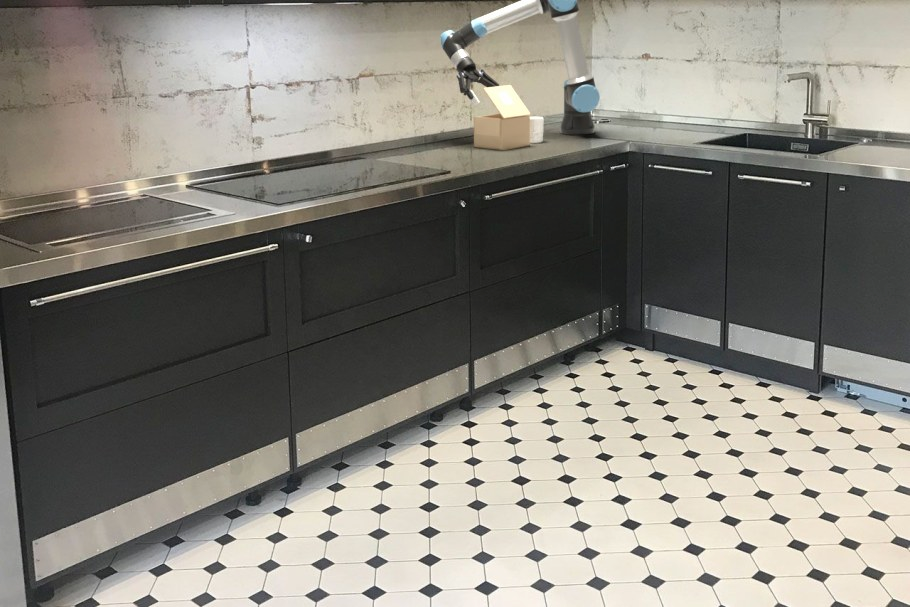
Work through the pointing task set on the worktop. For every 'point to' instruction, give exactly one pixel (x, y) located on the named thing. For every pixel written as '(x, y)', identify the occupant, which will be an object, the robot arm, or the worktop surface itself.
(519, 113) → the lid flap
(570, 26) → the robot arm
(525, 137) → the carton
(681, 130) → the worktop surface
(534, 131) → the white cup
